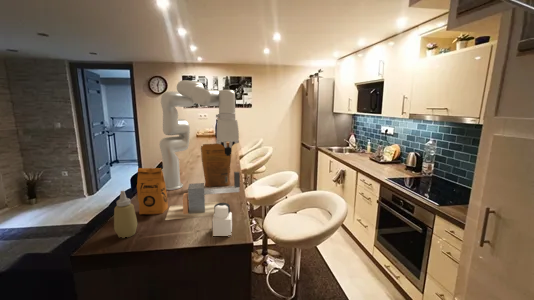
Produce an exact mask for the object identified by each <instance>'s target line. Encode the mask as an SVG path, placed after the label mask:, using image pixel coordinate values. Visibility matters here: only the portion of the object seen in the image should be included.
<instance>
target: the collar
mask: <svg viewBox="0 0 534 300" xmlns="http://www.w3.org/2000/svg"><path fill="white" fill-rule="evenodd" d="M182 205H183V214H188V210H189V197H188V192H187V193H186V192H185V193H183V197H182Z"/></svg>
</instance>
